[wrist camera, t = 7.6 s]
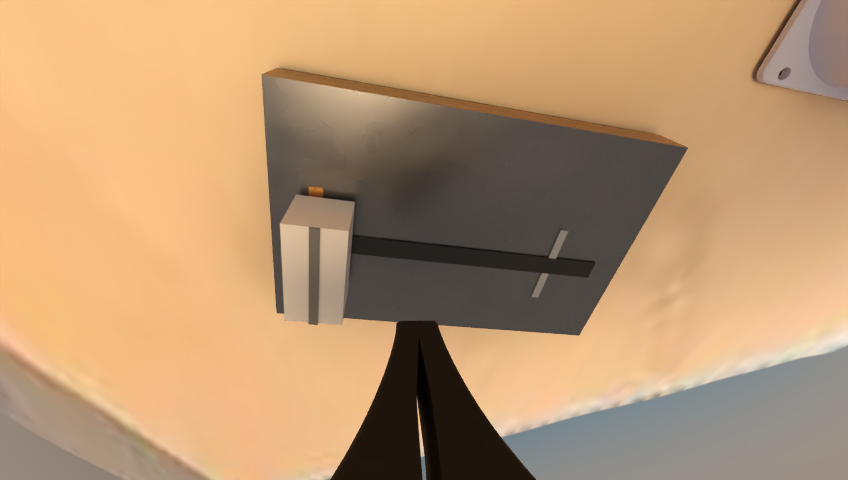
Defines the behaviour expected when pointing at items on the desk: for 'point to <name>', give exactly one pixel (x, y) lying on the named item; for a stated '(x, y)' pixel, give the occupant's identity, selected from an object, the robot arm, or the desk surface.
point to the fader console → (462, 200)
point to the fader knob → (316, 259)
